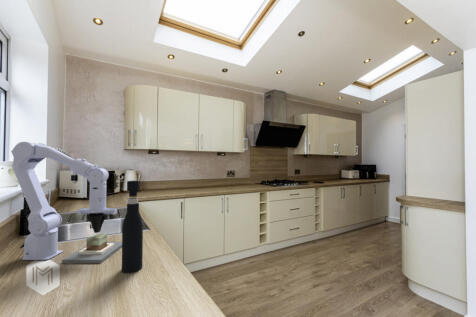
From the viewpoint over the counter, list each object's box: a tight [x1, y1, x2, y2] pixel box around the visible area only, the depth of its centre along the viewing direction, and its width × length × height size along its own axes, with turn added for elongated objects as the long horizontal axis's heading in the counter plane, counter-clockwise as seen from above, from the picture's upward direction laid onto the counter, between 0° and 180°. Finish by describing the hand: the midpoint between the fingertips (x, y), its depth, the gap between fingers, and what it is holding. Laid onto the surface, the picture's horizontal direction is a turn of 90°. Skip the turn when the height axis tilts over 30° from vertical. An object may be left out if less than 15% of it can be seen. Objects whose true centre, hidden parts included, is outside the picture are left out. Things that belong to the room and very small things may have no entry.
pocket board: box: [61, 241, 122, 264], centre depth 89 cm, size 14×18×2 cm
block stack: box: [86, 233, 108, 251], centre depth 89 cm, size 5×5×6 cm
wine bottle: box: [121, 180, 144, 274], centre depth 76 cm, size 6×6×30 cm
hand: (97, 232), depth 89 cm, fingers closed
